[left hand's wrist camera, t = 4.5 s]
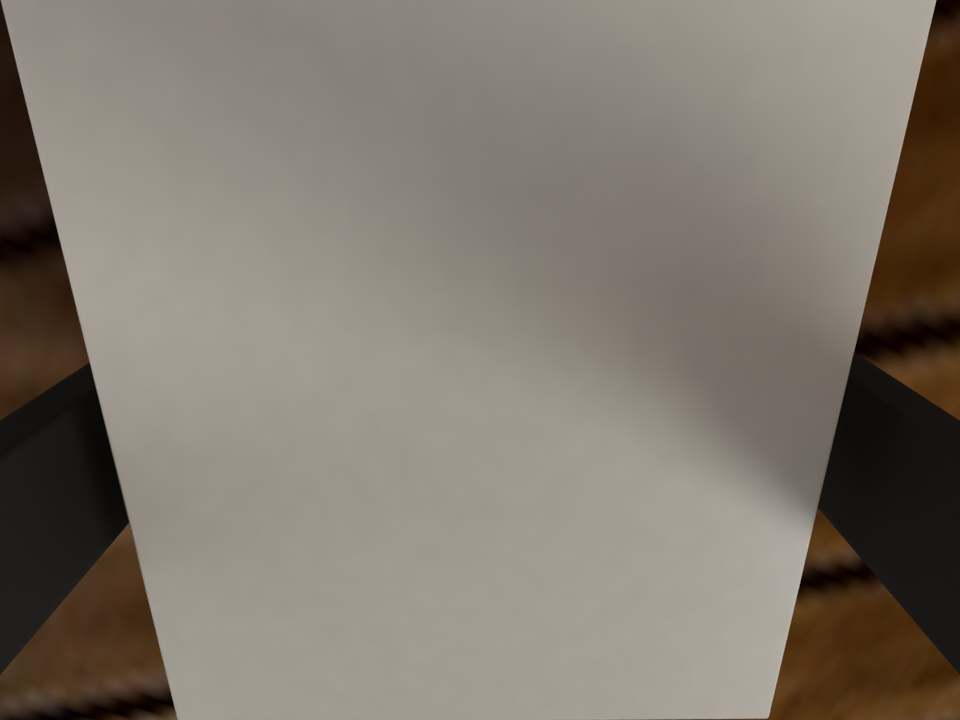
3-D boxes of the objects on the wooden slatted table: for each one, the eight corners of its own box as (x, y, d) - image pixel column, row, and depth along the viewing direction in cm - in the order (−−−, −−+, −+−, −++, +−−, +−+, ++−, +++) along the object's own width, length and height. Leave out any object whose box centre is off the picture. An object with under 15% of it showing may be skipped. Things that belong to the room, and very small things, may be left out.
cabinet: (200, -402, 12) (-363, -1468, 4) (740, -399, 12) (1274, -1436, 4) (303, 465, 20) (177, 723, 11) (644, 464, 20) (769, 720, 11)
